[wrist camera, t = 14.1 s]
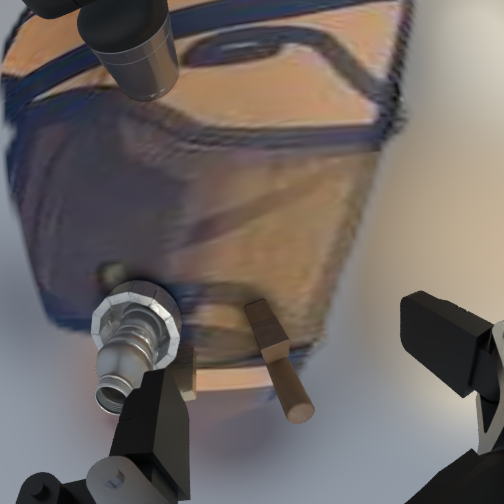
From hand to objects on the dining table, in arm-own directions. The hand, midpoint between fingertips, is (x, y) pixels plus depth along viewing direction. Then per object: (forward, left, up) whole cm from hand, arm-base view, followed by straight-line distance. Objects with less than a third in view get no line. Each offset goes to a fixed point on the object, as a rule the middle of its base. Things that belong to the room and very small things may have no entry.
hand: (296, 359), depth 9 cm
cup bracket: (+11, -16, -36) cm, 41 cm away
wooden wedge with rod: (+18, +2, -36) cm, 40 cm away
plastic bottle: (+9, -15, -33) cm, 37 cm away
